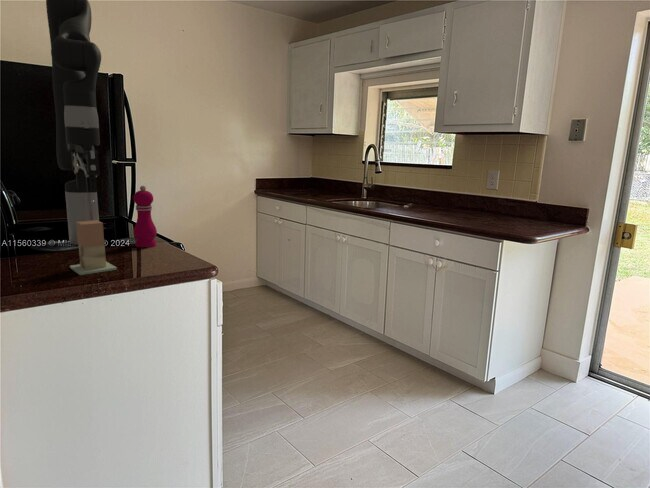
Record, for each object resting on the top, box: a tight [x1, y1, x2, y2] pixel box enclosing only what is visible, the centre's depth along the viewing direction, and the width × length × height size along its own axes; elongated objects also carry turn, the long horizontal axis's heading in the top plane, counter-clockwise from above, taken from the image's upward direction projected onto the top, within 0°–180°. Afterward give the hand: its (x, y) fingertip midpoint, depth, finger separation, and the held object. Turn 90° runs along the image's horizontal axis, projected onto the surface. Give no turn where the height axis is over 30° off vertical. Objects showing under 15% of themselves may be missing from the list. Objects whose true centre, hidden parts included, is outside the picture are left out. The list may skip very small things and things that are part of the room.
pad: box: [69, 261, 118, 276], centre depth 119 cm, size 9×9×1 cm
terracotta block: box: [76, 220, 105, 248], centre depth 118 cm, size 5×5×6 cm
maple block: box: [77, 244, 107, 270], centre depth 119 cm, size 5×5×6 cm
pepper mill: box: [132, 185, 158, 248], centre depth 146 cm, size 7×7×20 cm
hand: (86, 190), depth 115 cm, fingers open, 8 cm apart
